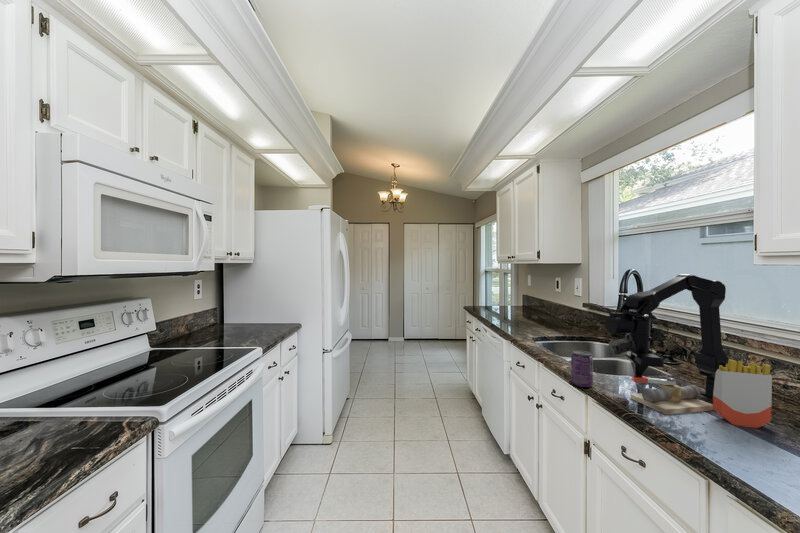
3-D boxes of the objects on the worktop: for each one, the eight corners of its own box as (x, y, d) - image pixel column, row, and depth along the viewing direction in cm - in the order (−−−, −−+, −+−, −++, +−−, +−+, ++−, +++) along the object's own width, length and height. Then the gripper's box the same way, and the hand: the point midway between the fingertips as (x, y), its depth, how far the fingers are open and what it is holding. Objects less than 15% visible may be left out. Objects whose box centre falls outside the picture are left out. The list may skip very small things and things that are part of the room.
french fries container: (711, 416, 97) (712, 355, 97) (758, 422, 94) (759, 359, 94) (721, 423, 93) (722, 359, 93) (771, 429, 90) (772, 363, 90)
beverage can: (587, 381, 126) (587, 350, 126) (596, 388, 118) (596, 355, 118) (567, 381, 126) (568, 349, 126) (575, 387, 119) (576, 354, 119)
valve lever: (673, 384, 107) (673, 377, 107) (676, 386, 104) (677, 380, 104) (631, 380, 110) (631, 373, 110) (634, 382, 108) (634, 375, 108)
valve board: (674, 394, 113) (675, 377, 113) (714, 410, 102) (714, 390, 102) (630, 398, 110) (630, 380, 110) (666, 414, 98) (666, 394, 98)
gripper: (601, 325, 120) (600, 367, 121) (624, 338, 102) (622, 387, 103) (636, 326, 118) (634, 369, 119) (665, 340, 100) (663, 391, 100)
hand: (637, 378), depth 110 cm, fingers closed
